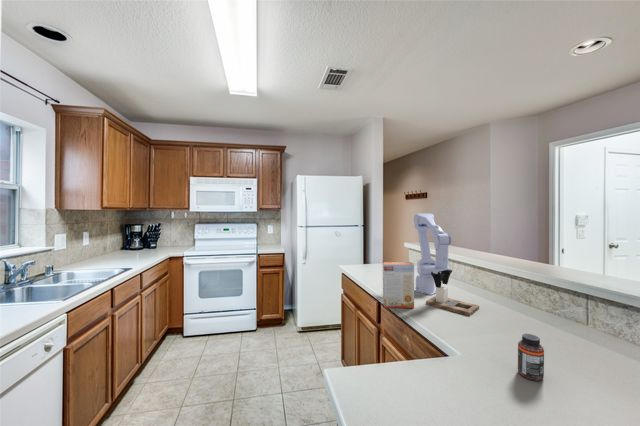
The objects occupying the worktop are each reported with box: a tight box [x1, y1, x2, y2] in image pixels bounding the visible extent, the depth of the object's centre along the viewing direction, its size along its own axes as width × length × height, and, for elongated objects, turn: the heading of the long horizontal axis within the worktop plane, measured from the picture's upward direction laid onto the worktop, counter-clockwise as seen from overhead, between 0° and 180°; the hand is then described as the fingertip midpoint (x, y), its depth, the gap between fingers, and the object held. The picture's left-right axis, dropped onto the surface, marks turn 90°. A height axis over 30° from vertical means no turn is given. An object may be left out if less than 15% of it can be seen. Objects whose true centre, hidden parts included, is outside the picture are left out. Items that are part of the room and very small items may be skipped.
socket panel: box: [425, 295, 480, 317], centre depth 132 cm, size 20×12×2 cm, turn 43°
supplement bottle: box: [517, 333, 545, 382], centre depth 79 cm, size 6×6×11 cm
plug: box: [435, 285, 449, 304], centre depth 135 cm, size 4×4×8 cm
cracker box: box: [382, 261, 415, 309], centre depth 133 cm, size 14×6×21 cm, turn 84°
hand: (441, 285), depth 135 cm, fingers open, 7 cm apart
